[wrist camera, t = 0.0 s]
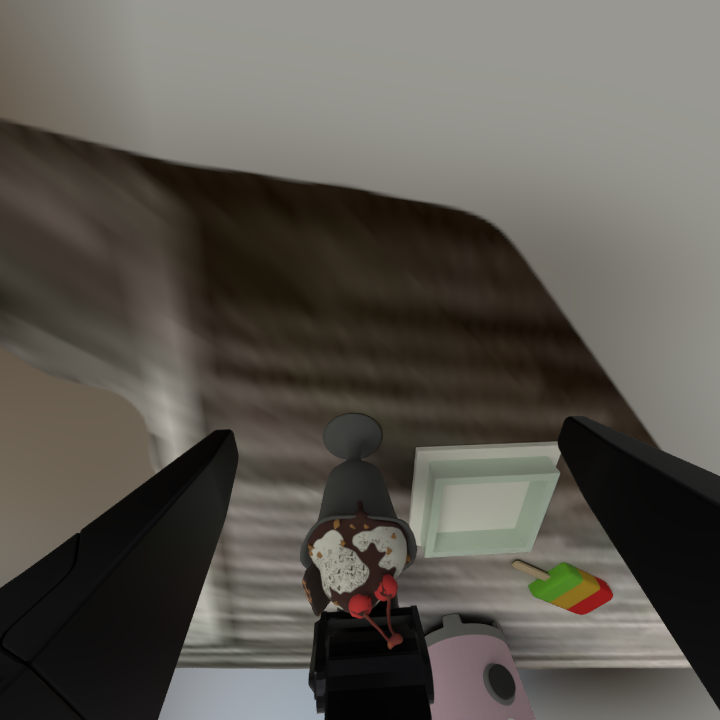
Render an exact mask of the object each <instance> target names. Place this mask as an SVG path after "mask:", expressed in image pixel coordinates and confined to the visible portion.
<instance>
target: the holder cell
mask: <svg viewBox="0 0 720 720" xmlns="http://www.w3.org/2000/svg"><path fill="white" fill-rule="evenodd" d="M560 454H561V452H560V450H559V448H558V441H554V442H530V443H506V444H481V445H457V446H433V447H416V452H415V463H414V473H413V483H412V494H411V504H410V514H409V526H410V528H411V530H412V531H413V533H414V536H415V540H416V545H417V546H422V549H423V553H424V558H432V557H450V556H467V555H485V554H502V553H519V552H531V550H532V547H533V545H534V542H535V539H536V537H537V534H538V531H539V529H540V526H541V523H542V521H543V518H544V515H545V513H546V510H547V508H548V505H549V502H550V500H551V497H552V494H553V492H554V489H555V486H556V484H557V481H558V478H559V476H560V472H559V471H558V469H557V468H556V465H557V462H558V459H559V457H560Z"/></svg>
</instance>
